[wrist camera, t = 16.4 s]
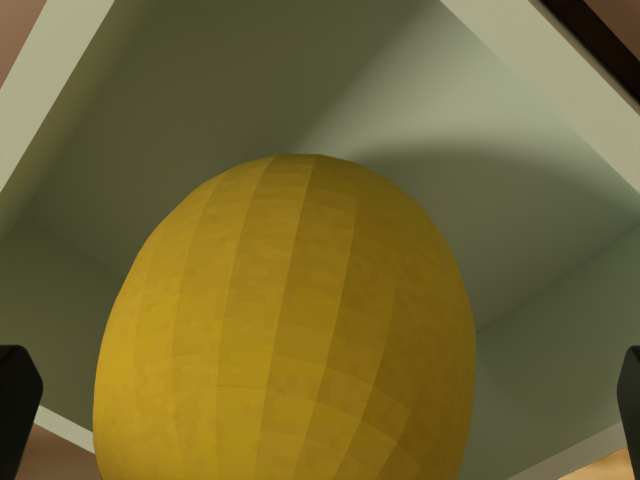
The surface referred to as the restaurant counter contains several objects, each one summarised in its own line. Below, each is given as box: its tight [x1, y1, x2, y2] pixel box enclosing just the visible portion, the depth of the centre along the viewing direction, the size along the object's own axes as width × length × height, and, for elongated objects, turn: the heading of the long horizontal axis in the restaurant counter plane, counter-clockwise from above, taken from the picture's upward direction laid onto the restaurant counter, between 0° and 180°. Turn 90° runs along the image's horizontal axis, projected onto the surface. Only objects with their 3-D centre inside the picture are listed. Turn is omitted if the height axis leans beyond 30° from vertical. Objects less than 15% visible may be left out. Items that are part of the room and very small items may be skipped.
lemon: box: [93, 154, 476, 480], centre depth 10 cm, size 6×6×8 cm
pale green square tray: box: [0, 0, 640, 480], centre depth 11 cm, size 11×11×4 cm
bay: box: [0, 0, 640, 100], centre depth 12 cm, size 21×14×4 cm, turn 51°
